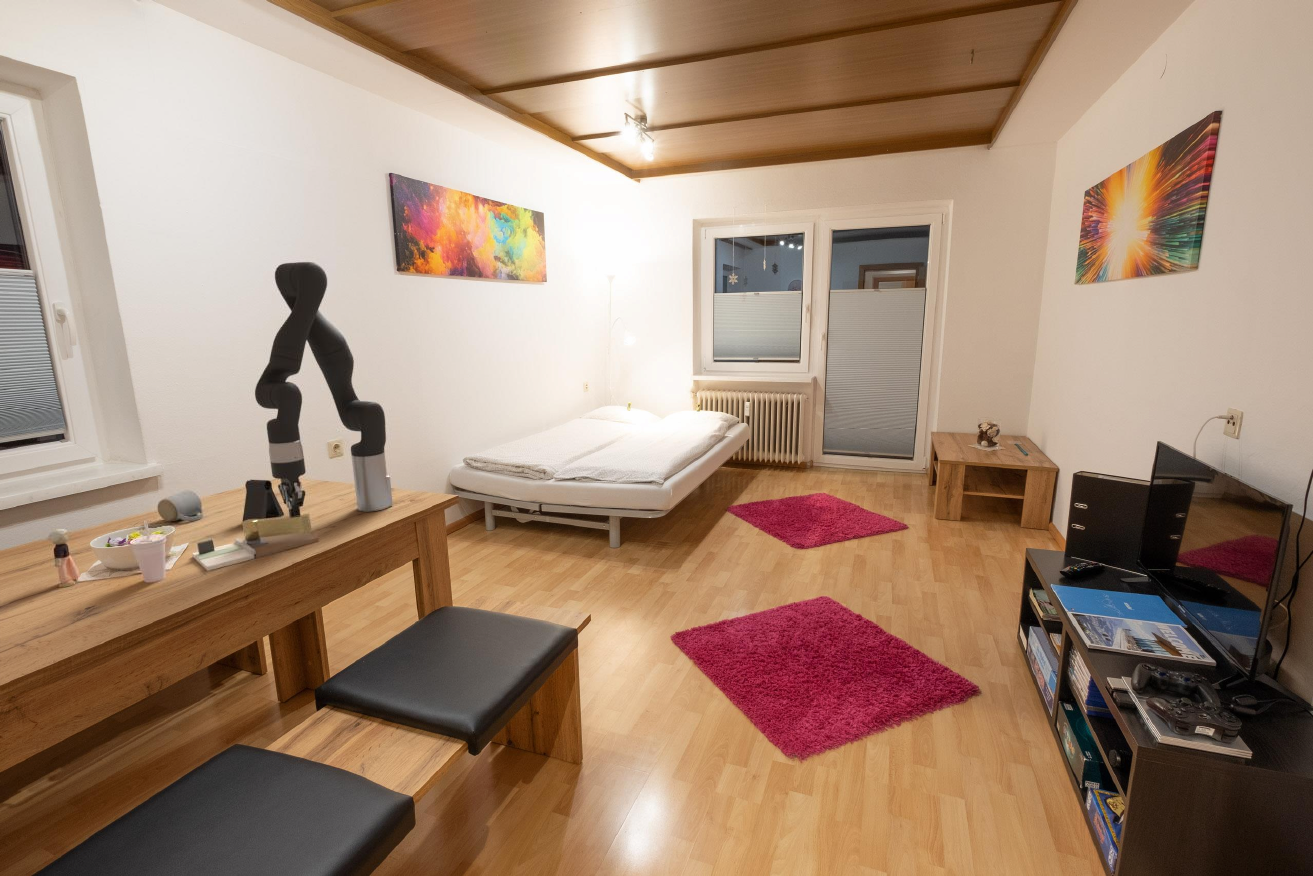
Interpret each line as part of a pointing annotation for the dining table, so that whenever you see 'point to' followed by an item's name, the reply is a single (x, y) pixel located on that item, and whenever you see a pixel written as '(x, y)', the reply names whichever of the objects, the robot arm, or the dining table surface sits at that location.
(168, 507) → the ceramic mug
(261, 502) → the phone stand
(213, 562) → the door mockup
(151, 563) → the smoothie
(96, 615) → the dining table surface
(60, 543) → the grandmother figurine
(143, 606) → the dining table surface
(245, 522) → the swing bar
